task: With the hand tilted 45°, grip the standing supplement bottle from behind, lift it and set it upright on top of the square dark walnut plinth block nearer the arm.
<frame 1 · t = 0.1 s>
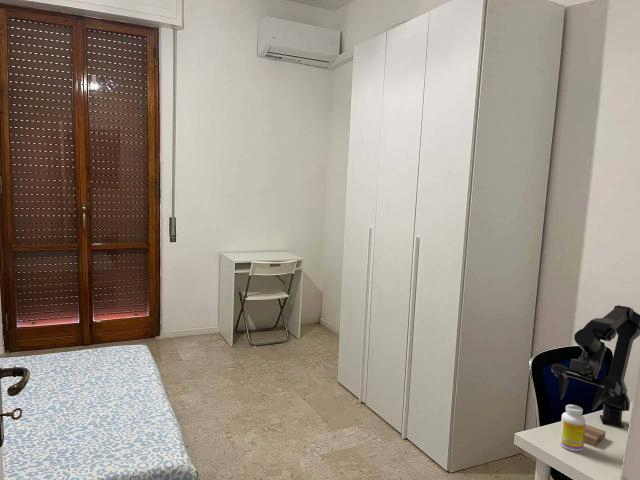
hand: (576, 404, 143), 15 cm above the table, tool tilted 35°, fingers open, 9 cm apart
walnut plinth: (586, 437, 152), on the table
supplement bottle: (570, 447, 146), on the table
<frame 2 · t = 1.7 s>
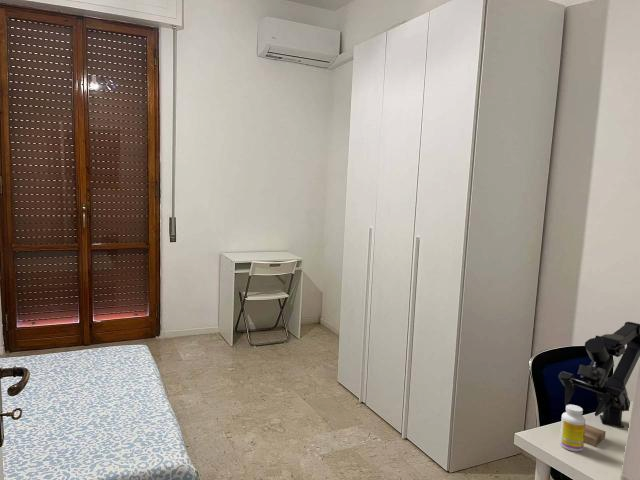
hand: (580, 409, 148), 11 cm above the table, tool tilted 45°, fingers open, 9 cm apart
nothing on the table moved.
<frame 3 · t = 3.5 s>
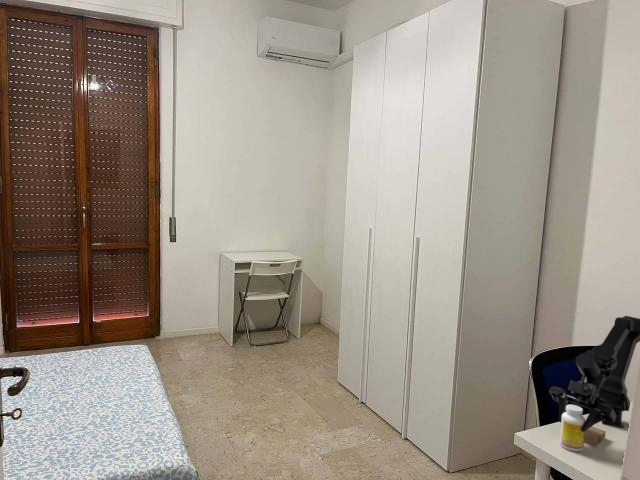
hand: (570, 426, 145), 7 cm above the table, tool tilted 45°, fingers closed on supplement bottle, 7 cm apart
supplement bottle: (570, 447, 146), on the table, touching gripper
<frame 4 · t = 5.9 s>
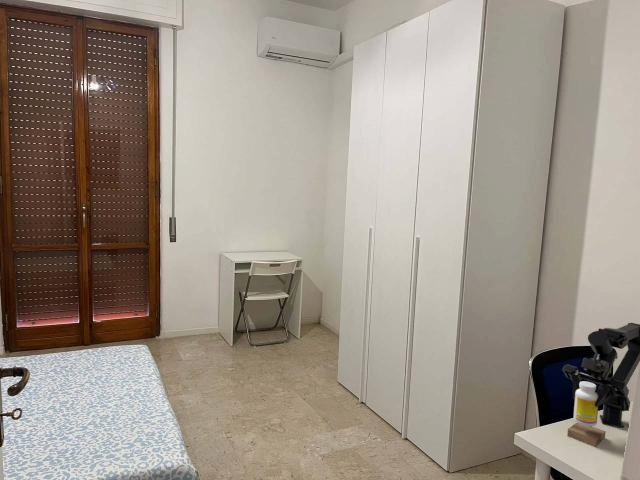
hand: (584, 402, 149), 13 cm above the table, tool tilted 45°, fingers closed on supplement bottle, 7 cm apart
supplement bottle: (584, 422, 151), point 6 cm above the table, touching gripper
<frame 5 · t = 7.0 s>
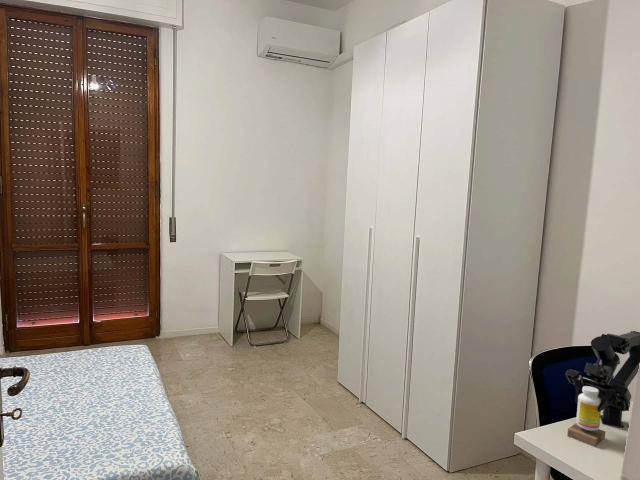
hand: (587, 406, 151), 11 cm above the table, tool tilted 45°, fingers closed on supplement bottle, 7 cm apart
supplement bottle: (587, 427, 152), point 4 cm above the table, touching gripper
when the fingers open (11 cm above the table, at t = 7.9 s): supplement bottle drops 1 cm, resting on walnut plinth.
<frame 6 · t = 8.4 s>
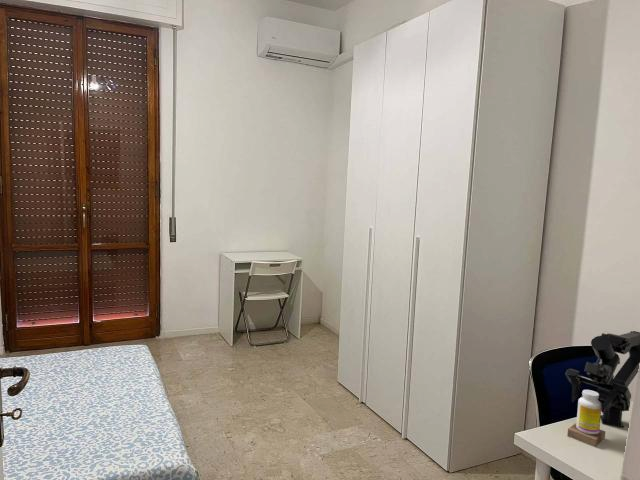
hand: (586, 406, 151), 11 cm above the table, tool tilted 45°, fingers open, 9 cm apart
supplement bottle: (587, 430, 152), point 2 cm above the table, touching walnut plinth
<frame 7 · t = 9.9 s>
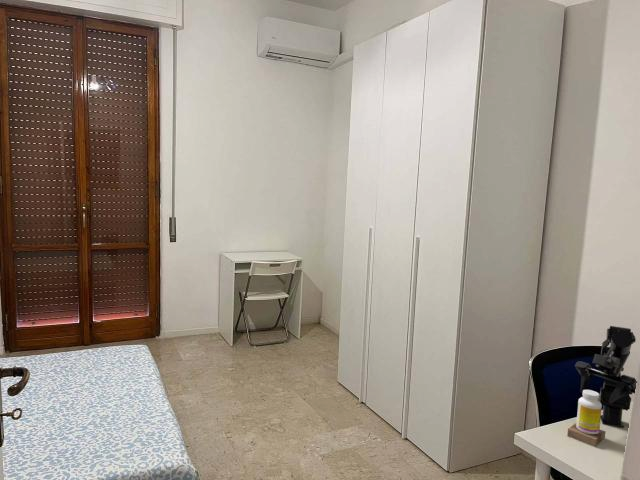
hand: (594, 397, 153), 13 cm above the table, tool tilted 45°, fingers open, 9 cm apart
nothing on the table moved.
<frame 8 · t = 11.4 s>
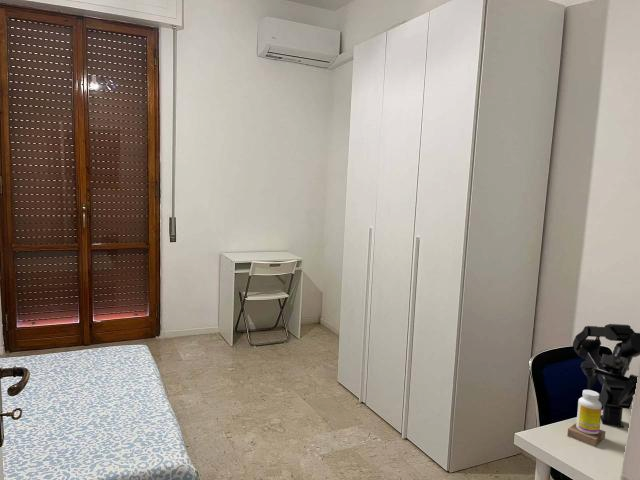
hand: (603, 397, 151), 14 cm above the table, tool tilted 45°, fingers open, 9 cm apart
nothing on the table moved.
at the end: supplement bottle 0.2 cm off-centre on the walnut plinth, point 2.3 cm above the walnut plinth's base; supplement bottle tilted 0°; the gripper is holding nothing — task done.
